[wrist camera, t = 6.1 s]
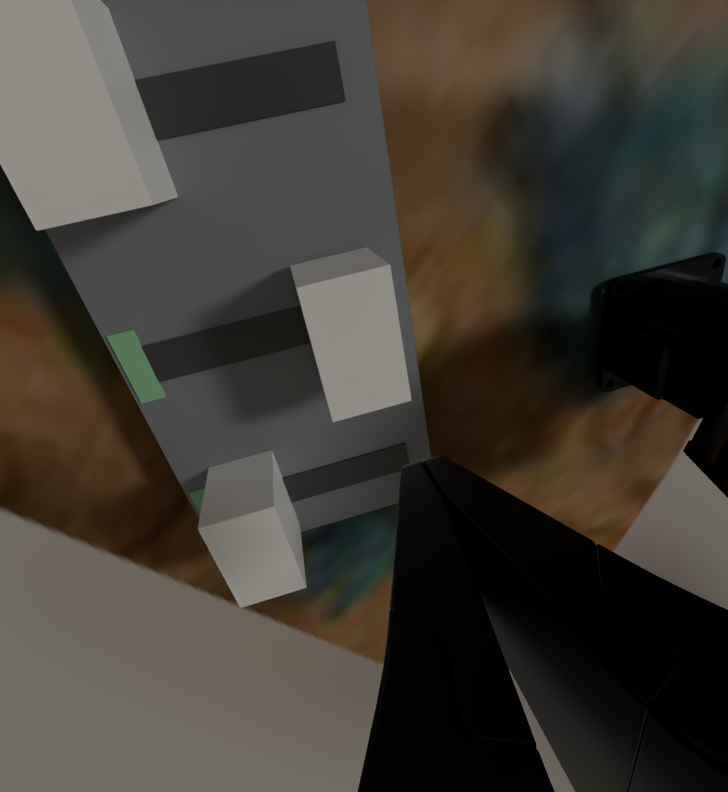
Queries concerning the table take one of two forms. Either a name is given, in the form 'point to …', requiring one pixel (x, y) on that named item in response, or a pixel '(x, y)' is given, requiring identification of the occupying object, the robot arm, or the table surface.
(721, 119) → the table surface
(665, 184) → the table surface
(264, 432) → the breaker panel
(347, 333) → the handle
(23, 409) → the table surface
